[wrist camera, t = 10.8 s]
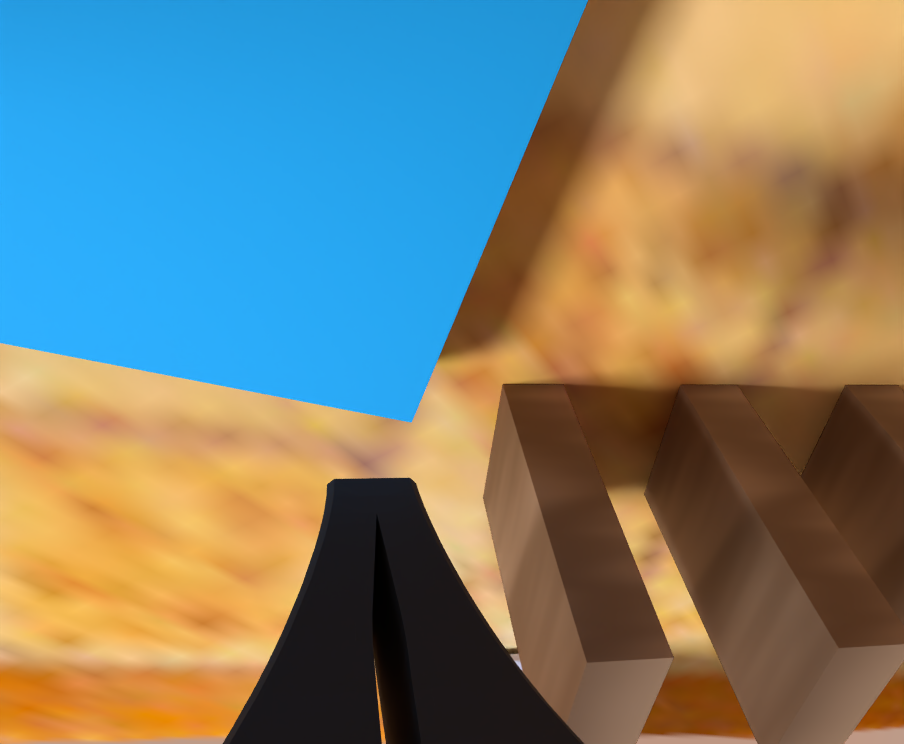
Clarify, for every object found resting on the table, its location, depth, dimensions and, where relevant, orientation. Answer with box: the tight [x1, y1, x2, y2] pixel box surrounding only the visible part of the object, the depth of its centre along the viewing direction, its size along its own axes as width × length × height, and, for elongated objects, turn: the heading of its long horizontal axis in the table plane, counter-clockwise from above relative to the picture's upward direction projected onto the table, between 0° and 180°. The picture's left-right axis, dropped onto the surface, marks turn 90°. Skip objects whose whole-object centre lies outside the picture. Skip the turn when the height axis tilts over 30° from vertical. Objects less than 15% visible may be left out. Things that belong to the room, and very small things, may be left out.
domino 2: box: [644, 385, 904, 744], centre depth 24 cm, size 2×5×10 cm, turn 174°
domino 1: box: [483, 384, 674, 744], centre depth 23 cm, size 2×5×10 cm, turn 174°
